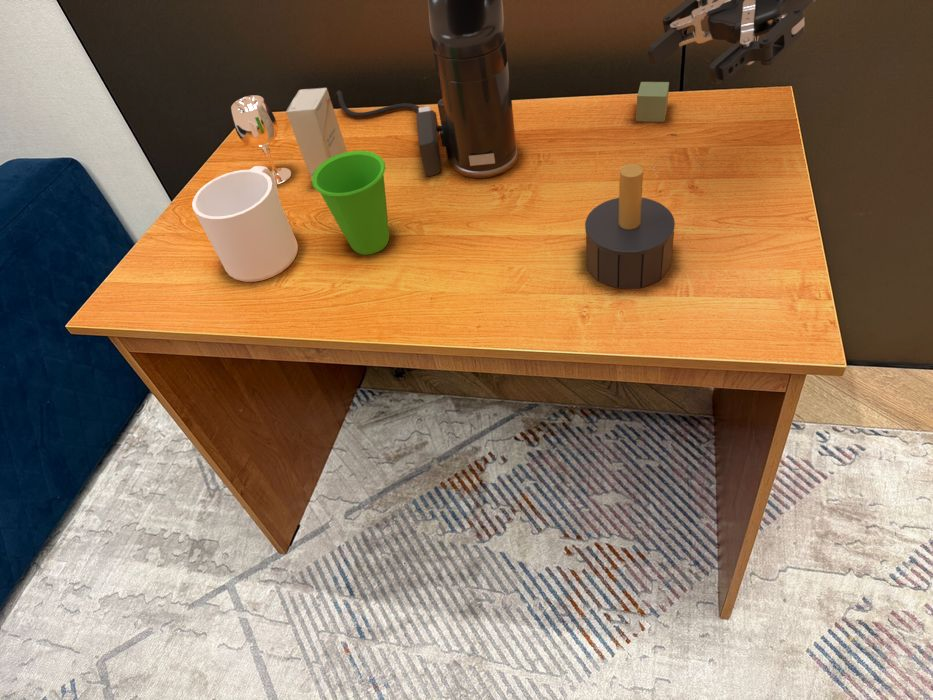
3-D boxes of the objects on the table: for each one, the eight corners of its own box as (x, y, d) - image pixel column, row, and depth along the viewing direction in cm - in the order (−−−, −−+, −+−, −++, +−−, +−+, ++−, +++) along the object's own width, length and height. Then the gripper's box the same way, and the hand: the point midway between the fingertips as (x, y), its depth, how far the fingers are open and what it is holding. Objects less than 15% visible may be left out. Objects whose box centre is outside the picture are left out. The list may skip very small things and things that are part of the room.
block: (636, 121, 101) (637, 95, 98) (639, 106, 104) (640, 81, 101) (664, 122, 100) (666, 96, 97) (667, 107, 103) (669, 81, 100)
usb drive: (418, 145, 96) (438, 141, 96) (415, 102, 104) (433, 99, 104) (425, 177, 100) (444, 174, 100) (421, 133, 108) (439, 130, 108)
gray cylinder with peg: (570, 272, 82) (566, 183, 73) (611, 225, 87) (612, 135, 78) (646, 300, 77) (653, 208, 68) (685, 248, 82) (696, 156, 73)
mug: (277, 286, 88) (247, 222, 81) (211, 278, 91) (176, 216, 83) (319, 224, 96) (295, 159, 88) (256, 219, 99) (228, 156, 91)
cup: (414, 224, 93) (396, 152, 85) (387, 269, 87) (366, 197, 79) (354, 217, 96) (331, 147, 87) (325, 261, 90) (298, 191, 82)
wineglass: (251, 185, 105) (218, 113, 96) (271, 164, 108) (242, 92, 99) (282, 190, 103) (252, 116, 94) (302, 167, 106) (275, 94, 97)
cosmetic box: (340, 186, 101) (315, 110, 92) (312, 187, 102) (284, 112, 93) (351, 161, 105) (328, 86, 96) (324, 163, 106) (298, 88, 97)
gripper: (732, -65, 77) (625, 22, 75) (850, -52, 67) (731, 48, 65) (739, 0, 82) (639, 82, 80) (849, 20, 72) (739, 114, 70)
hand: (680, 67), depth 72 cm, fingers open, 8 cm apart
